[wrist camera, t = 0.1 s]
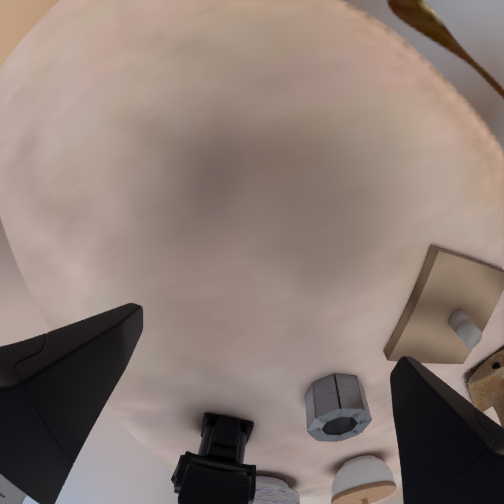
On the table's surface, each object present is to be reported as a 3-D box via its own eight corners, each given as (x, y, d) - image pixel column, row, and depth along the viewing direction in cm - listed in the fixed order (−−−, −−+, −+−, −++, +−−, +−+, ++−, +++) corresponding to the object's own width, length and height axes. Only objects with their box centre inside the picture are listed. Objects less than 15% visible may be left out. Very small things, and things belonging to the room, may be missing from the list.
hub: (347, 410, 29) (353, 441, 24) (299, 406, 29) (300, 439, 24) (370, 376, 27) (380, 409, 22) (317, 371, 27) (322, 406, 22)
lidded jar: (334, 453, 33) (339, 502, 24) (396, 443, 32) (408, 488, 23) (324, 477, 37) (326, 517, 28) (378, 469, 36) (385, 507, 27)
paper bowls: (224, 463, 36) (217, 501, 29) (311, 472, 36) (311, 508, 29) (217, 487, 42) (211, 517, 34) (286, 496, 41) (285, 525, 34)
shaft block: (458, 356, 25) (476, 385, 20) (383, 351, 25) (398, 387, 20) (502, 269, 21) (530, 290, 16) (430, 245, 21) (462, 268, 16)
